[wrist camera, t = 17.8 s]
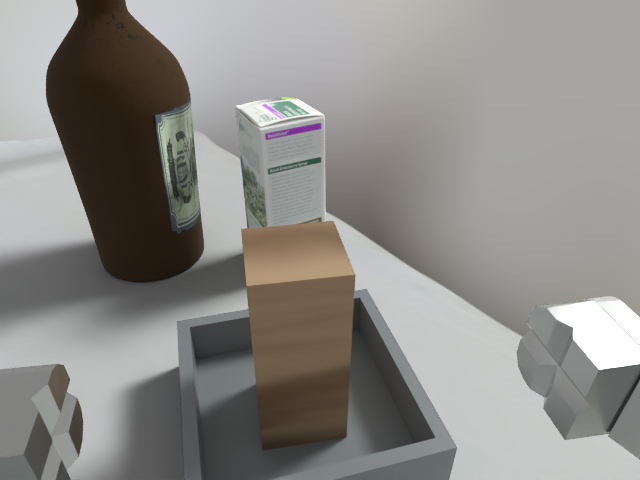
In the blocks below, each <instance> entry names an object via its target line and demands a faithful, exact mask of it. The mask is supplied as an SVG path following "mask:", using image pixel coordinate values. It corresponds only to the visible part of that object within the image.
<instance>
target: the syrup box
mask: <svg viewBox="0 0 640 480" xmlns="http://www.w3.org/2000/svg"><path fill="white" fill-rule="evenodd" d="M236 117H237V127H238V139H239V149H240V159H241V168H242V177H243V188H244V197H245V208H246V218H247V227H248V228H259V227H270V226H282V225H293V224H304V223H315V222H325V116H324V115H323V114H322V113H320V112H318V111H317V110H315V109H313V108H312V107H310V106H308V105H307V104H305V103H304V102H302V101H300V100H299V99H297V98H295V97H282V98H271V99H265V100H260V101H255V102H251V103H247V104H243V105H237V106H236Z"/></svg>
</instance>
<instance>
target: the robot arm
mask: <svg viewBox="0 0 640 480" xmlns="http://www.w3.org/2000/svg"><path fill="white" fill-rule="evenodd" d="M527 323H528V325H529V327H530V329H531V330H530V331H529V332H528V333H527V334H526V335H525V336H524V337H523V338H522V339H521V340H520V343H519V347H518V350H517V358H518V367H519V369H520V372H521V374H522V377H523V379H524V380H525V382H526V383H527V385H528V386H529V388H530V389H531V390H533V391H535V392H536V393H538V394H540V395H541V396H543V397H544V408H543V409H544V410H545V412H546V413H547V414H548V416H549V417H550V419H551V420H552V422H553V423H554V425H555V426H556V428H557V429H558V431H559V432H560V433H561V435H562V436H563V438H564V439H565V440H568V439H575V438H582V437H589V436H596V435H603V434H609V435H608V437H610V438H611V439H613V440H614V441H615V442H617V443H618V444H619V445H621V446H622V447H624V448H625V449H626V450H628V451H629V452H630V453H632V454H633V455H635V456H636V457H637V458H639V459H640V318H639V317H638V316H637V315H636V314H635V313H634V312H633V311H632V310H630V308H628V306H626V305H625V304H624V303H623V302H622V301H621V300H619V299H617V298H615V297H612V296H608V297H600V298H592V299H586V300H577V301H570V302H562V303H555V304H547V305H539V306H536V307H535V308H534V309H533V310H532V311H531V312H530V314H529V317H528V319H527ZM69 381H70V378H69V376H68V374H67V372H66V369H65V367H64V365H60V364H52V365H42V366H32V367H21V368H11V369H1V370H0V480H70V477H69V475H68V473H67V469H68V468H69V467H70V466H71V465H72V464H73V463H74V461H75V460H76V459H77V458H78V457H79V453H80V448H81V444H82V435H83V418H82V412H81V407H80V404H79V402H78V399H77V398H76V397H74V396H73V395H71V394H69V393H68V392H67V388H68V385H69Z"/></svg>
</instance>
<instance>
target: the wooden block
mask: <svg viewBox="0 0 640 480" xmlns="http://www.w3.org/2000/svg"><path fill="white" fill-rule="evenodd" d="M241 232H242V243H243V254H244V265H245V276H246V287H247V297H248V307H249V318H250V328H251V338H252V349H253V359H254V369H255V380H256V390H257V400H258V411H259V421H260V432H261V442H262V451H264V450H270V449H276V448H282V447H289V446H295V445H301V444H308V443H314V442H320V441H327V440H333V439H339V438H345V437H347V422H348V402H349V383H350V364H351V345H352V326H353V307H354V288H355V273H354V270H353V268H352V265H351V263H350V260H349V258H348V256H347V253H346V251H345V248H344V246H343V243H342V241H341V238H340V236H339V233H338V231H337V229H336V226H335V224H334V221H326V222H315V223H304V224H293V225H282V226H270V227H259V228H248V229H241Z"/></svg>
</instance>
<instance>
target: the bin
mask: <svg viewBox="0 0 640 480" xmlns="http://www.w3.org/2000/svg"><path fill="white" fill-rule="evenodd" d="M177 329H178V351H179V374H180V397H181V419H182V442H183V464H184V480H449V478H450V474H451V470H452V466H453V462H454V458H455V454H456V449H457V447H456V445H455V443H454V441H453V440H452V438H451V436H450V434H449V433H448V431H447V429H446V427H445V426H444V424H443V422H442V420H441V419H440V417H439V415H438V413H437V412H436V410H435V408H434V406H433V405H432V403H431V401H430V399H429V398H428V396H427V394H426V392H425V391H424V389H423V387H422V385H421V383H420V382H419V380H418V378H417V376H416V375H415V373H414V371H413V369H412V368H411V366H410V364H409V362H408V361H407V359H406V357H405V355H404V354H403V352H402V350H401V348H400V347H399V345H398V343H397V341H396V340H395V338H394V336H393V334H392V333H391V331H390V329H389V327H388V326H387V324H386V322H385V320H384V319H383V317H382V315H381V313H380V312H379V310H378V308H377V306H376V305H375V303H374V301H373V299H372V298H371V296H370V294H369V292H368V291H367V289H363V290H358V291H354V307H353V326H352V345H351V364H350V383H349V402H348V422H347V437H345V438H339V439H333V440H327V441H320V442H314V443H308V444H301V445H295V446H289V447H282V448H276V449H270V450H264V451H262V442H261V432H260V421H259V411H258V400H257V390H256V380H255V369H254V359H253V349H252V338H251V328H250V318H249V309H247V310H241V311H235V312H229V313H224V314H218V315H212V316H206V317H200V318H194V319H189V320H183V321H177Z"/></svg>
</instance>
